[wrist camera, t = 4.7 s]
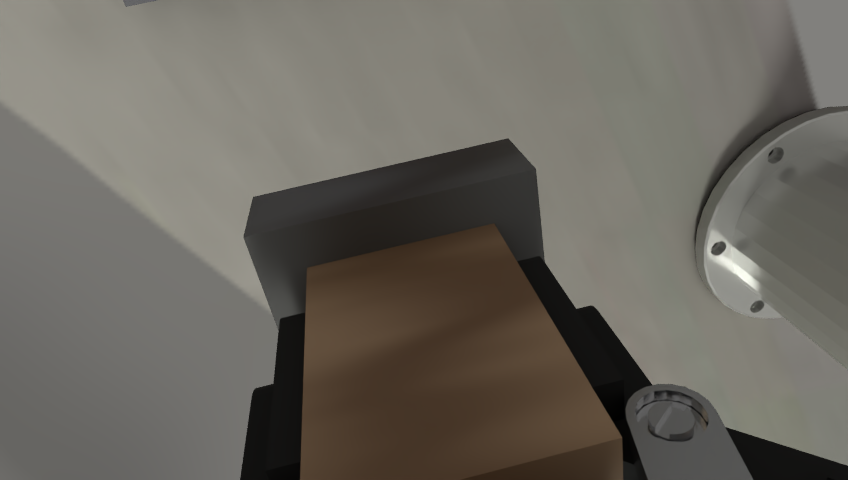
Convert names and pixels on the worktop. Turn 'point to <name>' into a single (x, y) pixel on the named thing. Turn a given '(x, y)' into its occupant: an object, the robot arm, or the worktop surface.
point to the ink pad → (135, 2)
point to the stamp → (428, 325)
